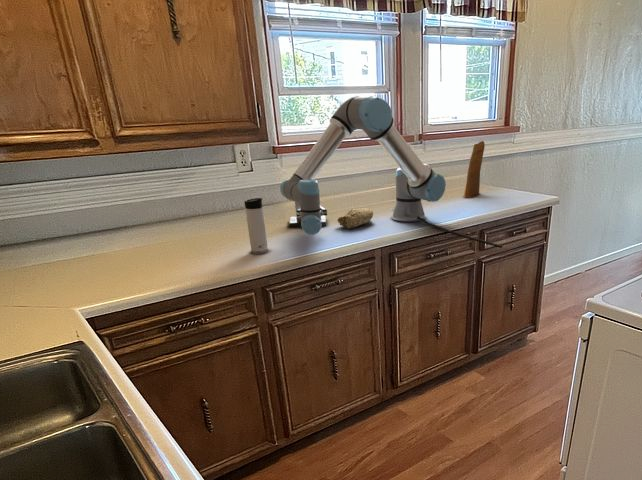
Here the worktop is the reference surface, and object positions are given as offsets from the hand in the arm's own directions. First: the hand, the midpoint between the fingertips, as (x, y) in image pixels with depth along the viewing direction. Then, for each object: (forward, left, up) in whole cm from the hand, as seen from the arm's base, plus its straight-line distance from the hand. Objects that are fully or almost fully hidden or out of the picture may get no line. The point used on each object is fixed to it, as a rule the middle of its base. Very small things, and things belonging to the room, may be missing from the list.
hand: (312, 204), depth 228 cm
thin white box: (+5, 0, -7) cm, 9 cm away
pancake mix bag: (+3, -104, -10) cm, 104 cm away
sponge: (-10, -17, -10) cm, 22 cm away
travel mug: (-22, +36, -9) cm, 43 cm away
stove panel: (+5, 0, -9) cm, 10 cm away
